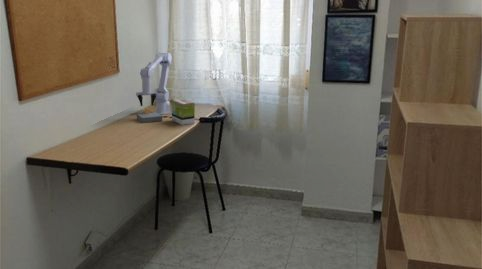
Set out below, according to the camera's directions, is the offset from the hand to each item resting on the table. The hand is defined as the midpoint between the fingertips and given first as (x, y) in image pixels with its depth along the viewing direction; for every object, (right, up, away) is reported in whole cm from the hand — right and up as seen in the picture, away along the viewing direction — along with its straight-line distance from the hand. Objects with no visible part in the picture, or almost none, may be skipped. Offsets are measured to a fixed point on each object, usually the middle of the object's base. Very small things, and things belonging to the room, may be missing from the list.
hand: (146, 105), depth 311 cm
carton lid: (+2, -7, -2) cm, 8 cm away
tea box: (+25, -12, -3) cm, 28 cm away
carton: (+2, -10, -1) cm, 10 cm away
